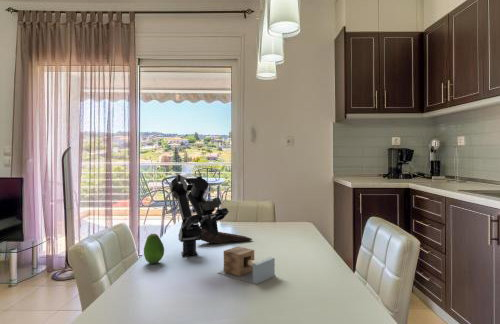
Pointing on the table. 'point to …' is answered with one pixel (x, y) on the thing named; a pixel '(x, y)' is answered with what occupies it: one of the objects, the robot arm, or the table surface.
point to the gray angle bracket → (257, 271)
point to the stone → (221, 237)
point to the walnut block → (238, 261)
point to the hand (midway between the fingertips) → (217, 235)
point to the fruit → (153, 249)
